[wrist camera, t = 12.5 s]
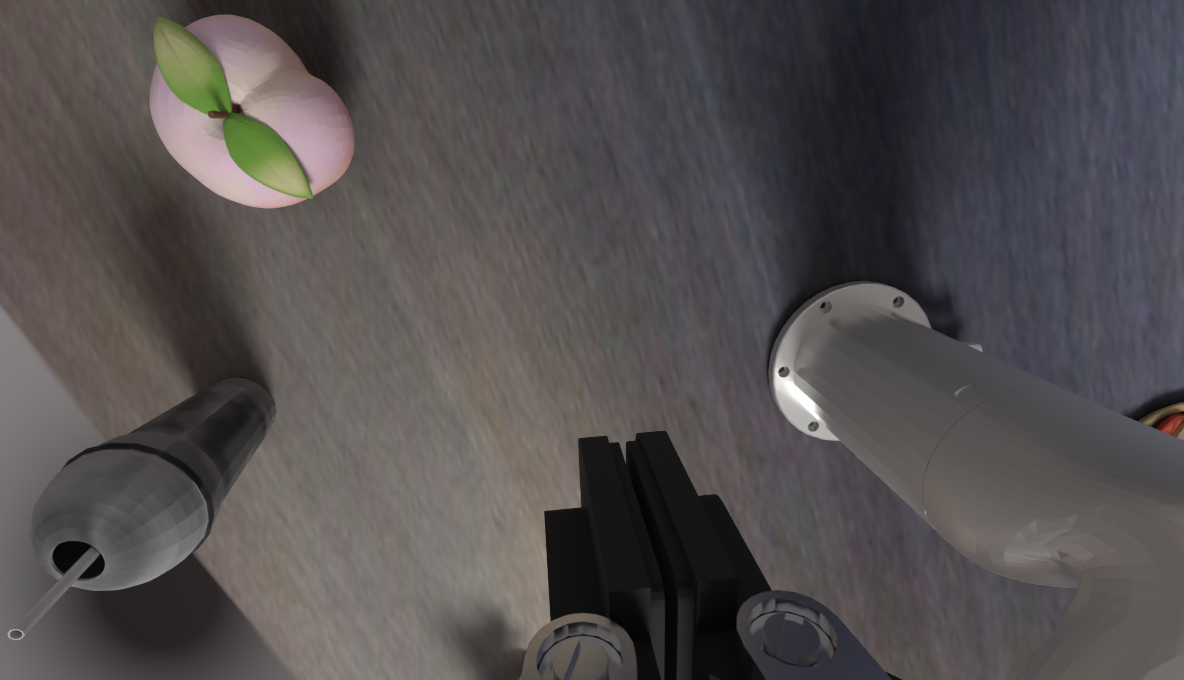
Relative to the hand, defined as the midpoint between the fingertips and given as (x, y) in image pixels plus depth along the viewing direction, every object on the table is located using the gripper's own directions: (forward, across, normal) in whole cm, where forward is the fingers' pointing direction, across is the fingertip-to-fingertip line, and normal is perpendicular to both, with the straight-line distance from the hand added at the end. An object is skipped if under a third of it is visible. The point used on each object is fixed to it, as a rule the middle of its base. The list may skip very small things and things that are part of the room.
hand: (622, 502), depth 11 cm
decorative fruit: (+29, +15, -8) cm, 34 cm away
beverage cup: (+29, +22, +10) cm, 38 cm away
